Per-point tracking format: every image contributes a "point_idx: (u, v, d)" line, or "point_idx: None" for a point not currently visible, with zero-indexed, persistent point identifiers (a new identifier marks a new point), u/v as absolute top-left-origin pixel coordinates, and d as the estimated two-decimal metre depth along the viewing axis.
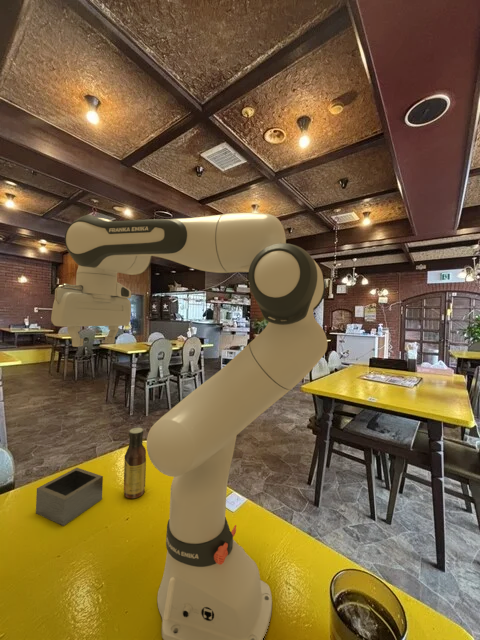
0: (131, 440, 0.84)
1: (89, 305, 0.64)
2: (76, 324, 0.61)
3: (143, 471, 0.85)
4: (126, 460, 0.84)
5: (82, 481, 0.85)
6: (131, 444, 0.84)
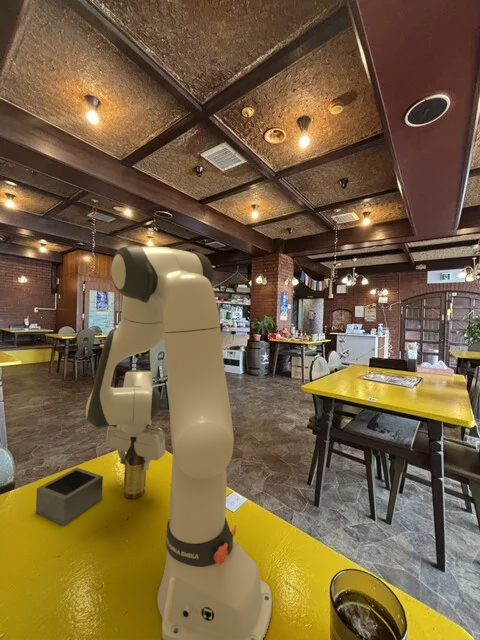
0: (132, 440, 0.84)
1: None
2: None
3: None
4: (127, 460, 0.84)
5: (82, 481, 0.85)
6: (132, 444, 0.84)
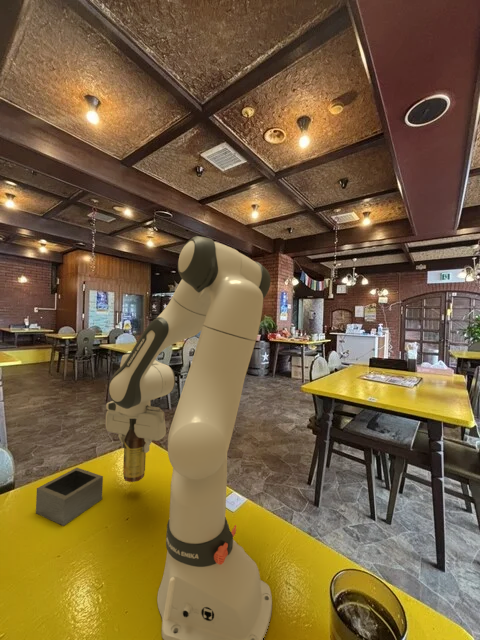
0: (131, 422, 0.84)
1: None
2: None
3: (143, 454, 0.84)
4: (126, 443, 0.83)
5: (82, 481, 0.85)
6: (131, 427, 0.84)
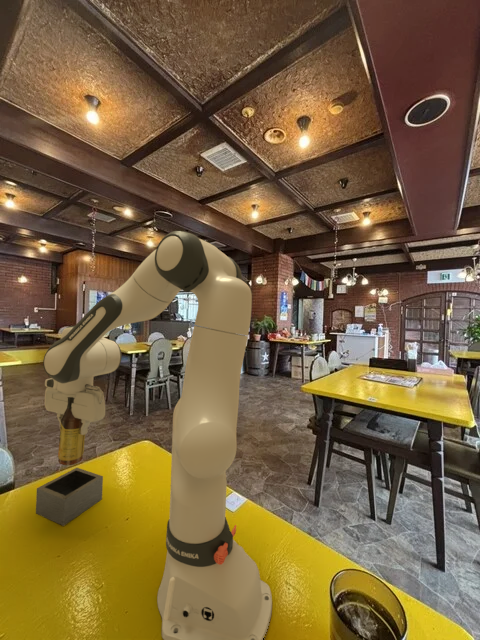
0: (69, 401, 0.78)
1: None
2: None
3: (80, 436, 0.78)
4: (62, 423, 0.77)
5: (82, 481, 0.85)
6: (68, 406, 0.78)
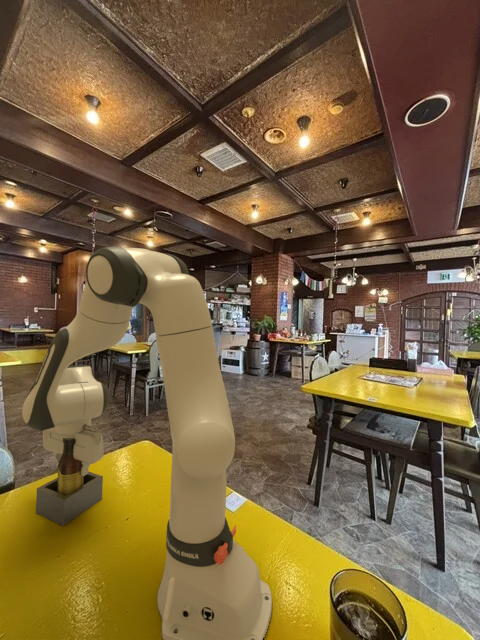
0: (64, 447, 0.77)
1: None
2: None
3: (78, 480, 0.78)
4: (59, 469, 0.76)
5: None
6: (64, 451, 0.77)
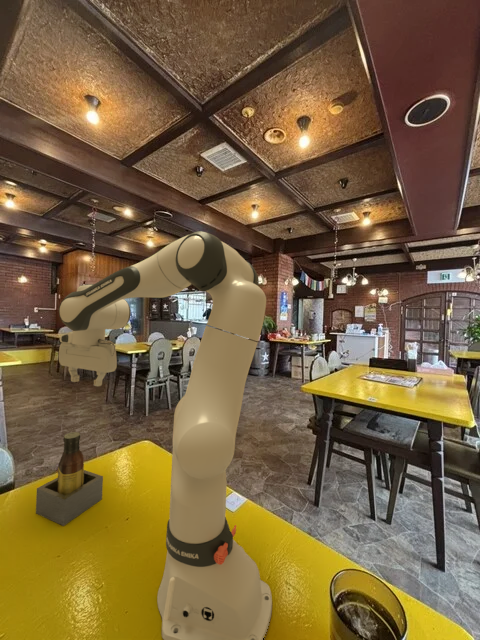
0: (65, 446, 0.77)
1: None
2: None
3: (78, 479, 0.78)
4: (59, 468, 0.76)
5: None
6: (65, 450, 0.77)
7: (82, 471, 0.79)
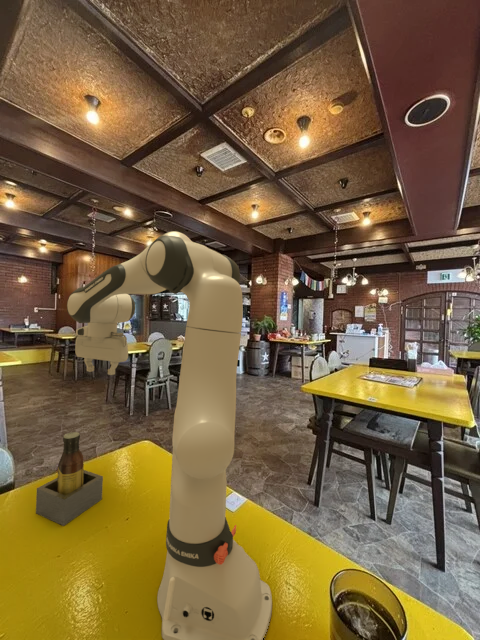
0: (65, 446, 0.77)
1: None
2: None
3: (78, 479, 0.78)
4: (59, 468, 0.76)
5: None
6: (65, 450, 0.77)
7: (82, 471, 0.79)
